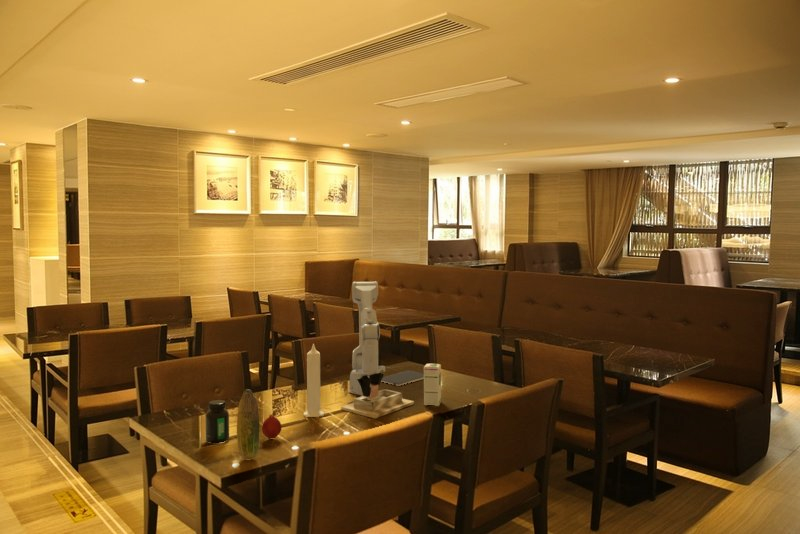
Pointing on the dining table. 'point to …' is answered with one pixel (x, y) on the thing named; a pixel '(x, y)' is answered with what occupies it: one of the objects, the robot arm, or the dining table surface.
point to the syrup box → (432, 384)
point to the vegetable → (248, 425)
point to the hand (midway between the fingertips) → (370, 395)
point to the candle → (313, 384)
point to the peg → (373, 391)
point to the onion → (271, 427)
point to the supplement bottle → (217, 422)
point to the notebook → (403, 378)
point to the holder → (378, 404)
